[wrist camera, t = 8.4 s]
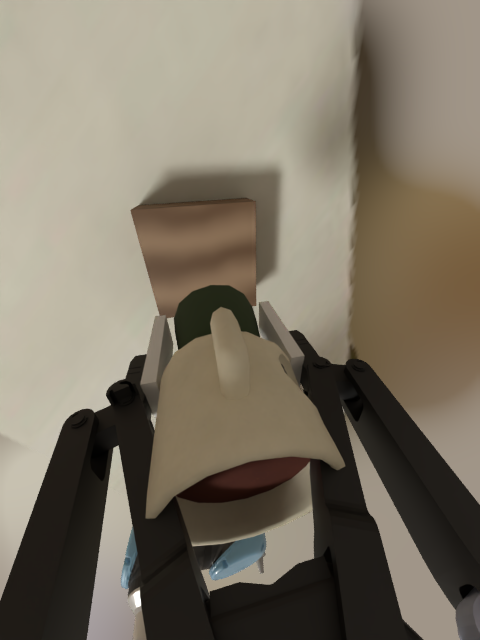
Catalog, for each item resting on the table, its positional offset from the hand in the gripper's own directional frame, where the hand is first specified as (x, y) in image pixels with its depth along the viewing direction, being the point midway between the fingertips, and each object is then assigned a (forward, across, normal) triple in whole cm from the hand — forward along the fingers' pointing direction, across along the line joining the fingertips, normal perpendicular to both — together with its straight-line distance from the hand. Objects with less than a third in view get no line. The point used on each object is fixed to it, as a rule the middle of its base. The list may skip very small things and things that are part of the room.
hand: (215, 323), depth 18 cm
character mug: (+1, 0, 0) cm, 1 cm away
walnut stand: (+19, 0, 0) cm, 19 cm away
